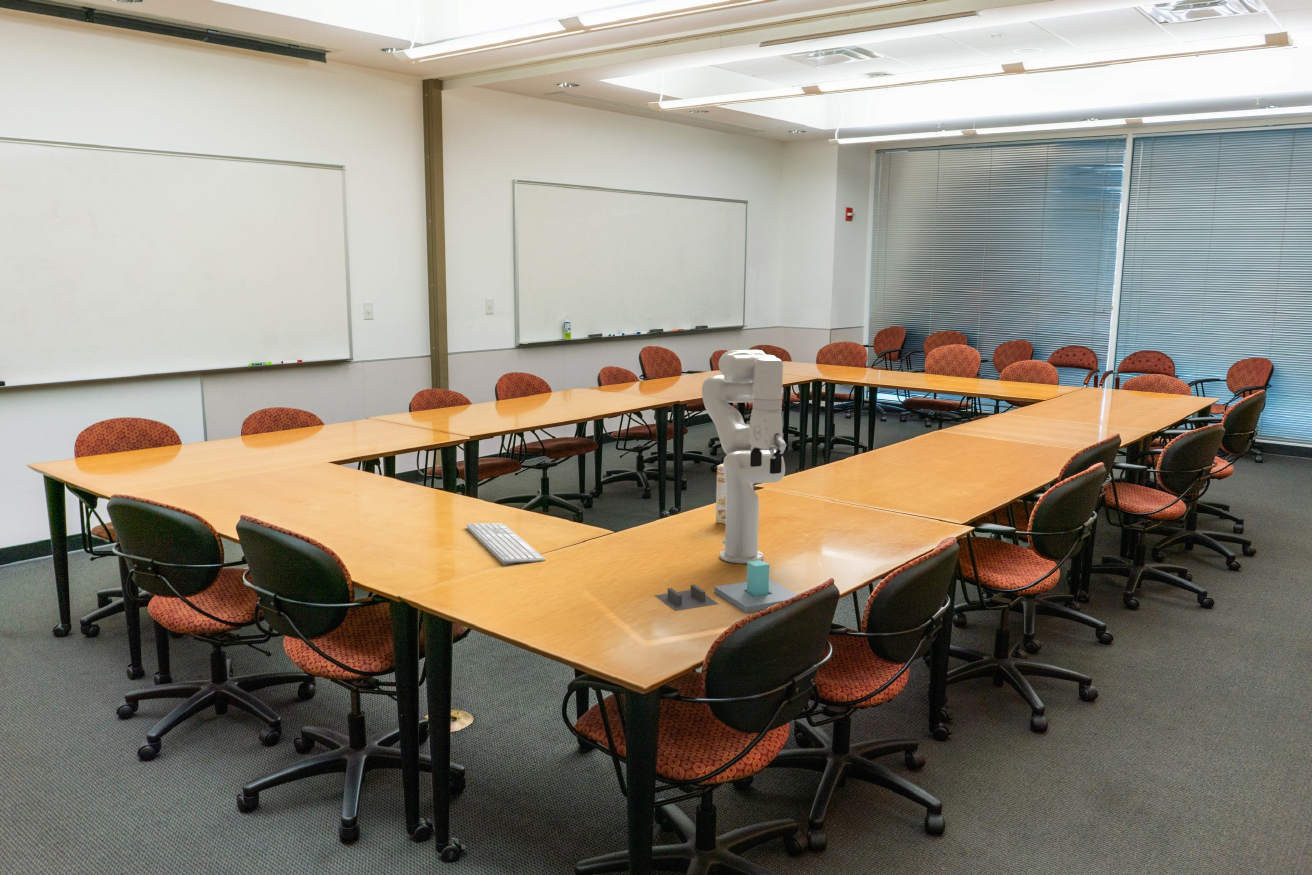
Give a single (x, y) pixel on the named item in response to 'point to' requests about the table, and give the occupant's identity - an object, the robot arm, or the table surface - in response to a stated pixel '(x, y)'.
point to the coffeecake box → (721, 495)
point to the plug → (757, 578)
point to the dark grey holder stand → (686, 598)
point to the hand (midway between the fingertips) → (765, 469)
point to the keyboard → (504, 543)
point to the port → (748, 602)
